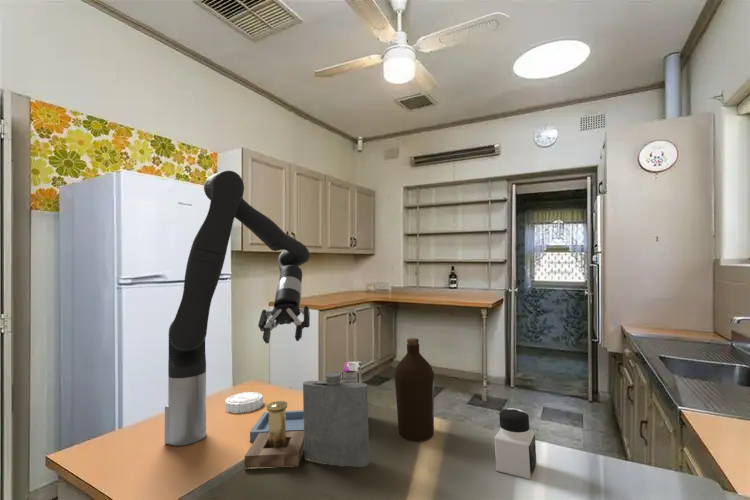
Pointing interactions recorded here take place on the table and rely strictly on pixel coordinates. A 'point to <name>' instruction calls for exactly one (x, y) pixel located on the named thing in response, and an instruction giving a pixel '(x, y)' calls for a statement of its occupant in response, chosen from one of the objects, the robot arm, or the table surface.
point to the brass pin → (277, 424)
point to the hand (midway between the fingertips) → (281, 340)
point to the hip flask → (336, 422)
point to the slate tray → (292, 423)
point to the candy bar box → (352, 372)
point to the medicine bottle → (515, 444)
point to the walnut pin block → (275, 451)
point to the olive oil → (415, 395)
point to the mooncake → (244, 402)
